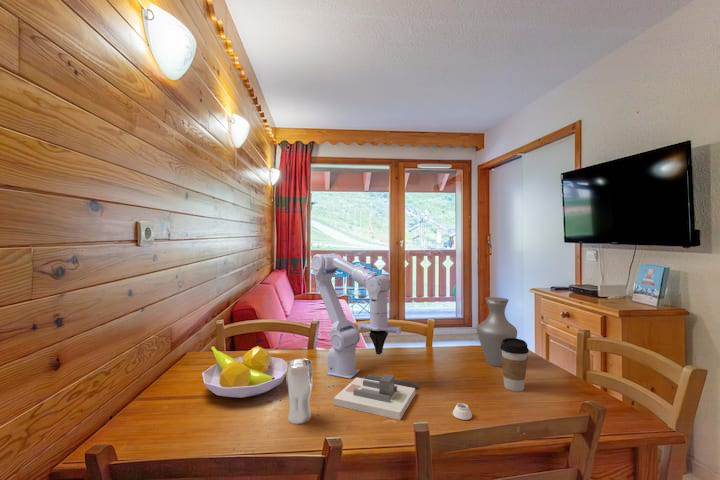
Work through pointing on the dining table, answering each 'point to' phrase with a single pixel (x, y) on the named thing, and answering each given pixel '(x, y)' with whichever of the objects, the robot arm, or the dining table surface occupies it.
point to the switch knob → (386, 385)
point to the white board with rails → (376, 397)
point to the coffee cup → (514, 363)
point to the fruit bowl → (244, 373)
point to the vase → (495, 330)
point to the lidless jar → (462, 411)
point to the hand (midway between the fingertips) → (379, 353)
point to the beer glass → (299, 389)
